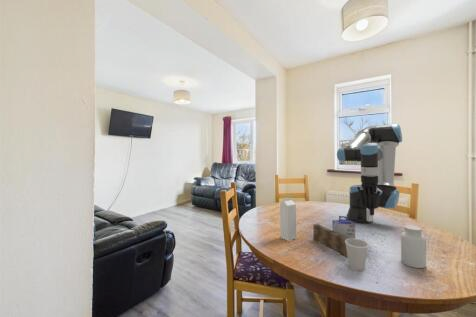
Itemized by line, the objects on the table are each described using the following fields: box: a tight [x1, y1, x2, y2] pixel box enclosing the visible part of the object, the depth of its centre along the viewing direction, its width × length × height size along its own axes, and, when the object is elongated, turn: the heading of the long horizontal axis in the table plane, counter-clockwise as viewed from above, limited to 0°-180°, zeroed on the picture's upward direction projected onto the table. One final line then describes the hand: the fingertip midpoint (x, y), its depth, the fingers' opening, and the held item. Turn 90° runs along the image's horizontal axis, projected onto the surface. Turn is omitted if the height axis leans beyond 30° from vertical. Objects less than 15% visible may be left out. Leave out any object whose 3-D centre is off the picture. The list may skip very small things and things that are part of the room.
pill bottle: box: [400, 225, 427, 269], centre depth 88 cm, size 8×8×15 cm
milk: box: [279, 197, 297, 242], centre depth 115 cm, size 6×6×22 cm
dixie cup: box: [345, 238, 370, 272], centre depth 86 cm, size 8×8×10 cm
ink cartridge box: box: [332, 215, 356, 239], centre depth 104 cm, size 10×6×14 cm, turn 72°
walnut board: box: [312, 223, 349, 259], centre depth 104 cm, size 22×2×8 cm, turn 19°
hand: (369, 220), depth 110 cm, fingers closed
